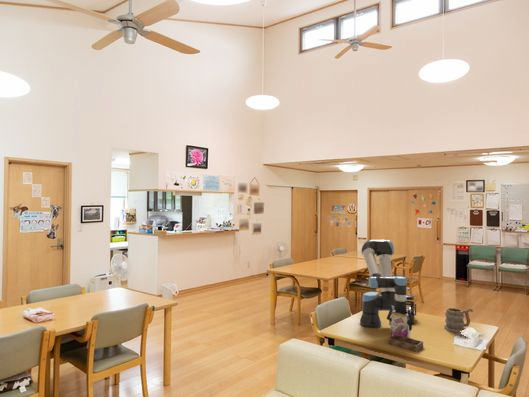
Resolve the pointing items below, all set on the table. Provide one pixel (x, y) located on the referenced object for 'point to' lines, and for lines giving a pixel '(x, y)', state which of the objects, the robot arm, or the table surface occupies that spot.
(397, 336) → the holder tray
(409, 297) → the french press
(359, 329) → the table surface
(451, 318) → the tankard
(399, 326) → the candy bar box
